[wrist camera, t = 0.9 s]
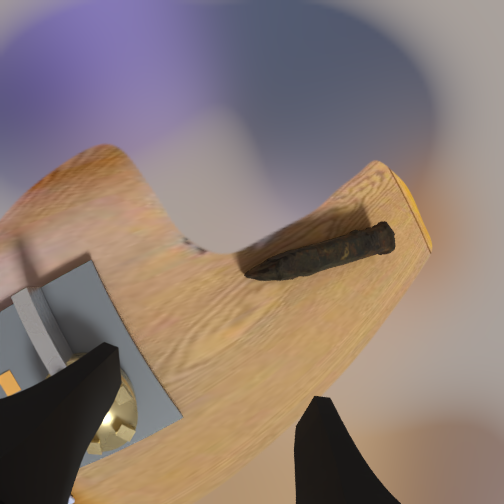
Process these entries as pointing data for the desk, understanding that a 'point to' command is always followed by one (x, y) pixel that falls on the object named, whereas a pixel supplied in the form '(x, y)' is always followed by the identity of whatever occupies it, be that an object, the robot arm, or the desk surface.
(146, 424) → the base plate
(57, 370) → the gold rounded piece
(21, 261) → the desk surface
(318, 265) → the dark brown statuette
